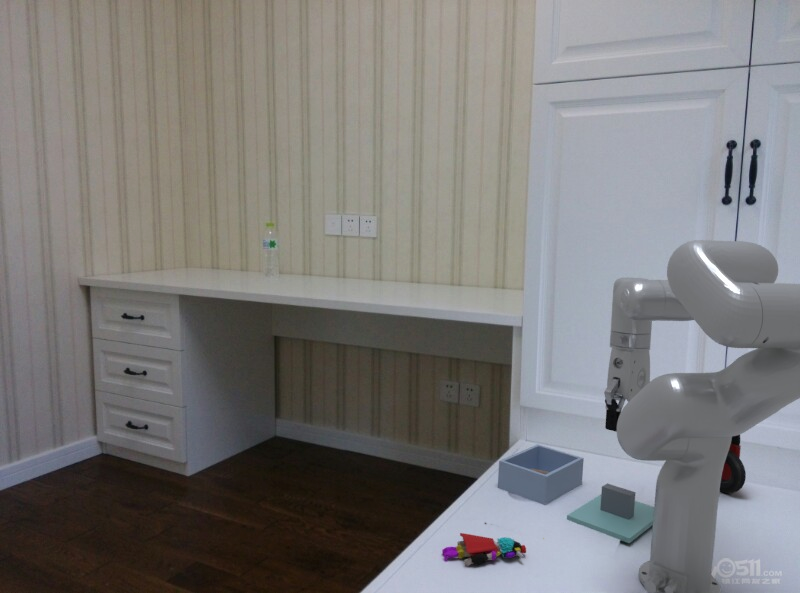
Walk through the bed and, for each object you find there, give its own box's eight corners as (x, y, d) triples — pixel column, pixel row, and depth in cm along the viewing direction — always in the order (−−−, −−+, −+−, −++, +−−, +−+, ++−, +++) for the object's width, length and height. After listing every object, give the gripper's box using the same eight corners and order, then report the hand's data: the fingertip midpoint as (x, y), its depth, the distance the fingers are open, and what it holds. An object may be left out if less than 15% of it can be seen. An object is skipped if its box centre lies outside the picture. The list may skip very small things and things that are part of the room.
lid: (628, 548, 122) (631, 512, 121) (566, 524, 131) (568, 491, 130) (664, 520, 134) (667, 487, 133) (605, 500, 143) (607, 469, 142)
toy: (446, 570, 112) (531, 568, 114) (447, 549, 112) (532, 546, 113) (439, 548, 120) (518, 545, 121) (439, 527, 119) (519, 525, 121)
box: (544, 508, 137) (546, 476, 136) (497, 491, 145) (499, 460, 144) (581, 487, 148) (583, 458, 148) (536, 472, 157) (537, 444, 156)
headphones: (713, 481, 155) (720, 399, 152) (750, 498, 146) (759, 411, 143) (657, 492, 147) (664, 406, 145) (693, 510, 138) (701, 419, 136)
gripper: (629, 348, 119) (623, 439, 121) (666, 338, 132) (660, 421, 133) (591, 342, 124) (586, 430, 126) (630, 334, 137) (625, 413, 138)
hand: (624, 425), depth 129 cm, fingers open, 9 cm apart
